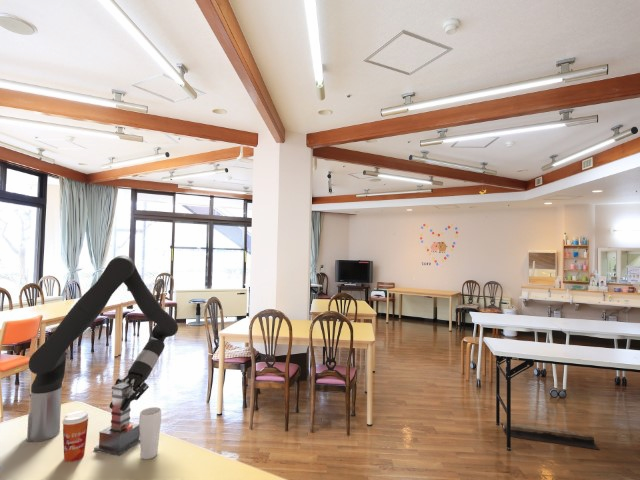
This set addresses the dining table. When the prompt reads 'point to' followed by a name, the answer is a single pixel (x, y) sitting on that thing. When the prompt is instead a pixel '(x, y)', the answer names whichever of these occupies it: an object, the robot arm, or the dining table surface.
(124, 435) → the sleeve
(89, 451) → the dining table surface
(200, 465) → the dining table surface
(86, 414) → the paper cup
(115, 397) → the column
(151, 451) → the drinking glass
